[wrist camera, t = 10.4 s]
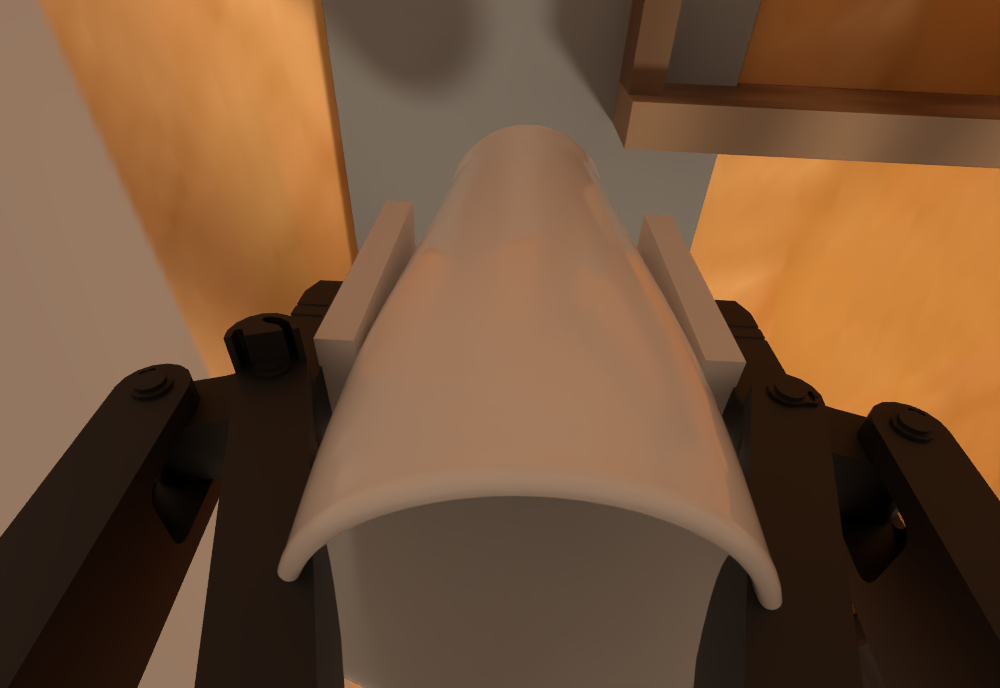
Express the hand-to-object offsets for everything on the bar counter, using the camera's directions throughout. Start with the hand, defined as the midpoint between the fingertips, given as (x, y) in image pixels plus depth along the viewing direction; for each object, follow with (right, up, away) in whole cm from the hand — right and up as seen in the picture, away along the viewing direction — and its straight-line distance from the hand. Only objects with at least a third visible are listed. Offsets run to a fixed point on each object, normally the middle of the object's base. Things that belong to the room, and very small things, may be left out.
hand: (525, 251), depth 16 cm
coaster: (0, +6, +7) cm, 9 cm away
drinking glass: (0, +3, +3) cm, 4 cm away
